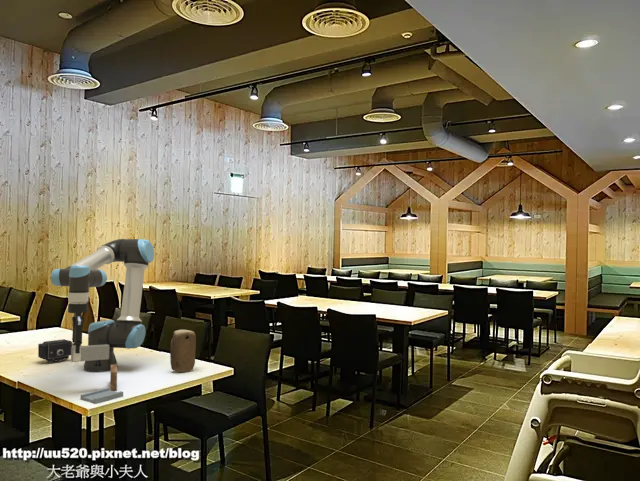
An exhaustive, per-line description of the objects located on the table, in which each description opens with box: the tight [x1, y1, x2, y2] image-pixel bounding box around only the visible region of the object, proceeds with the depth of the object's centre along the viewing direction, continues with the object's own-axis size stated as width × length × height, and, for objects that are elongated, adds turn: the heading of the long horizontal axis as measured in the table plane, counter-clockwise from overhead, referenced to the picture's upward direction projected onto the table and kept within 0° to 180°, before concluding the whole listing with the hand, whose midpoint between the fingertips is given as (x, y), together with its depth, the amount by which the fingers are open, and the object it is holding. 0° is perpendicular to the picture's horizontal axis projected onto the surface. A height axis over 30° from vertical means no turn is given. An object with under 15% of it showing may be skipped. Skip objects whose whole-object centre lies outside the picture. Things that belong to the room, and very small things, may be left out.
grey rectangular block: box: [70, 344, 109, 363], centre depth 209 cm, size 14×4×6 cm, turn 121°
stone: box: [169, 329, 197, 373], centre depth 245 cm, size 12×7×20 cm, turn 137°
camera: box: [37, 339, 73, 364], centre depth 260 cm, size 11×11×15 cm
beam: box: [109, 363, 118, 392], centre depth 216 cm, size 2×15×8 cm, turn 22°
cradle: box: [79, 387, 124, 405], centre depth 200 cm, size 12×10×2 cm
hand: (76, 359), depth 207 cm, fingers closed on grey rectangular block, 4 cm apart
